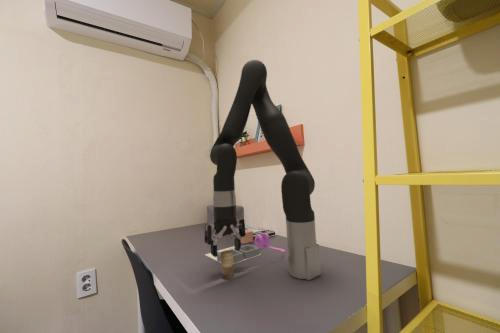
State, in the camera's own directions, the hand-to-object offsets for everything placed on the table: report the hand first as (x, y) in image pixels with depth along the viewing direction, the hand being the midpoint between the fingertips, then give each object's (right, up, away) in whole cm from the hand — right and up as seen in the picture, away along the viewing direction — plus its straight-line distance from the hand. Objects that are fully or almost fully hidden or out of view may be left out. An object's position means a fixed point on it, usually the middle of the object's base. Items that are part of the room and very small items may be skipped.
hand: (226, 253), depth 77 cm
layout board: (+1, -8, +15) cm, 17 cm away
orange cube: (+5, -8, +33) cm, 35 cm away
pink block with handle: (+17, -7, +20) cm, 27 cm away
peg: (+1, -7, -1) cm, 7 cm away
